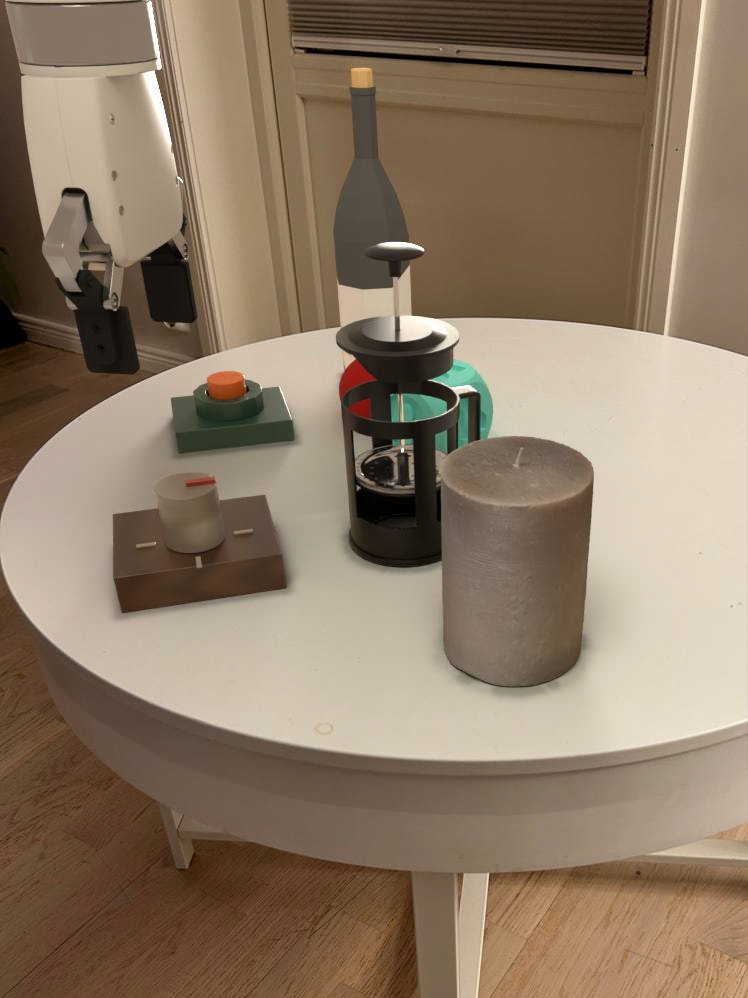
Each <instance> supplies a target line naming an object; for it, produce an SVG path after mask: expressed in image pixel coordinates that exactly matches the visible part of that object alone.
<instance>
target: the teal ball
mask: <svg viewBox="0 0 748 998" xmlns="http://www.w3.org/2000/svg"><path fill="white" fill-rule="evenodd" d="M453 360H454V362H453V367H452V368H451V369H450V370H449V371H448V372H447V373H445V374H443V375H441V376H439V377H436V378H433V379H430V380H433V381H437V382H441V383H443V384H446V385H448V386H450V387H451V388H456V387H461V386H471V387H473V388H474V389H475V390H476V391H478V392H479V393H480V396H481V432H480V440H483V439H488V437H489V435H490V432H491V427H492V424H493V419H494V418H493V417H494V403H493V402H494V401H493V397H492V394H491V391H490V389H489V387H488V384H487V383H486V381H485V379H484V378H483V376H482V375H481V374H480V373H479V372H478V370H477V369H476V368H474V366H473V365H471V363H468V362H466V361H463V360H460V359H456V358H453ZM402 396H403V421H404V422H406V421H417V420H423V419H428V418H432V417H435V416H438V415H441V414H443V413H445V412H447V402H445V401H443V400H441V399H438V398H434V397H431V396H425V395H418V394H402ZM390 397H391V419H392V422H399V408H398V394H390ZM392 440H393V445H397V444H400V440H395V439H392ZM404 444H413V439H404ZM466 444H468V398H465V399H460V416H459V420H458V448H460V447H462V446H464V445H466ZM435 448H436V449H439V450H441V451H443V452H446V453H447V430H446V431H444V432H441V433H438V434H436V435H435Z"/></svg>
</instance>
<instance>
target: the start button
mask: <svg viewBox="0 0 748 998" xmlns="http://www.w3.org/2000/svg"><path fill="white" fill-rule="evenodd" d="M245 377H246V376H245V375H244V374H243V373H241V372H239V371H235V370H224V371H217V372H214V373H211V374H209V375H208V376H207V377H206V383H207V385H208V392H209V397H211V398H215V399H233V398H237V397H240V396H243V395H246V394H247V391H246V384H245V380H246V378H245Z"/></svg>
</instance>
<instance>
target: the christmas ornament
mask: <svg viewBox="0 0 748 998" xmlns="http://www.w3.org/2000/svg"><path fill="white" fill-rule="evenodd" d="M372 380H376V379H375V378H374V377H373V376H372V375H371V374H369V373H368V372H367V371H366V370H365V369H364V368H363V366H362V365H361V364H360V363H359V362H358V361H357V360H356V359H355V360H354V361H353V362H351V363H350V364H349V365H348V367H347V368H346V369H345V370H344V371H343V372H342V374H341V377H340V380H339V384H338V396H339V400H340V402H341V398H342V395H343V394H344V393H345V392H346V391H347V390H349V389H350V388H352V387H354V386H356V385H358V384H361V383H364V382H368V381H372ZM348 410H349V411H351V412H352V413H354V414H356V415H358V416H361V417H364V418H368V419H371V416H370V399H369V398H368V399H365V400H362V401H360V402H358V403H356V404H354V405H353V406H351V407H350V408H349V409H348Z"/></svg>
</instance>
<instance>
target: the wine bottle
mask: <svg viewBox="0 0 748 998" xmlns="http://www.w3.org/2000/svg"><path fill="white" fill-rule="evenodd" d="M373 76H374V75H373V69H372V68H371V67H353V68H351V69H350V77H351V85H349V86H348V89H349V90H348V91H349V95H350V105H351V119H352V120H351V121H352V123H351V124H352V136H353V137H352V139H353V152H354V153H353V154H354V157H353V159H352V161H351V165H350V167H349V170H348V173H347V175H346V177H345V180H344V181H343V184H342V187H341V189H340V193H339V197H338V199H337V204H336V207H335V208H336V209H335V215H334V224H333V231H332V232H333V247H334V259H335V269H336V270H335V271H336V284H337V298H338V310H339V311H338V312H339V322H340V323H339V325H340V329H341V328H342V327H344V326H346V325H348V324H350V323H353V322H356V321H359V320H363V319H368V318H373V317H381V316H395V314H394V290H393V277H390V276H389V271H388V261H380V260H374V259H371V258H368V257H366V256H365V255H364V251H365V249H367V248H368V247H370V246H373V245H376V244H381V243H389V242H402V243H409V244H410V235H409V231H408V226H407V222H406V218H405V214H404V211H403V208H402V205H401V203H400V199H399V196H398V193H397V191H396V190H395V188H394V186H393V184H392V182H391V180H390V178H389V176H388V174H387V172H386V170H385V169H384V166H383V164H382V161H381V160H380V157H379V142H378V140H379V139H378V122H377V103H376V101H377V100H376V94H377V86H376V85H374V79H373V78H374V77H373ZM411 284H412V283H411V260H407V261H402V276H400V277H398V295H399V315H402V316H413V313H412V287H411ZM341 350H342V349H341ZM355 359H356V358H355V357H354V356H353V355H349V354H348V353H346V352H345V351H344V350H342V361H343V369H344V371H345V369H346V368H347V367H348V365H349V364H350V363H351V362H353V361H354V360H355Z"/></svg>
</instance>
